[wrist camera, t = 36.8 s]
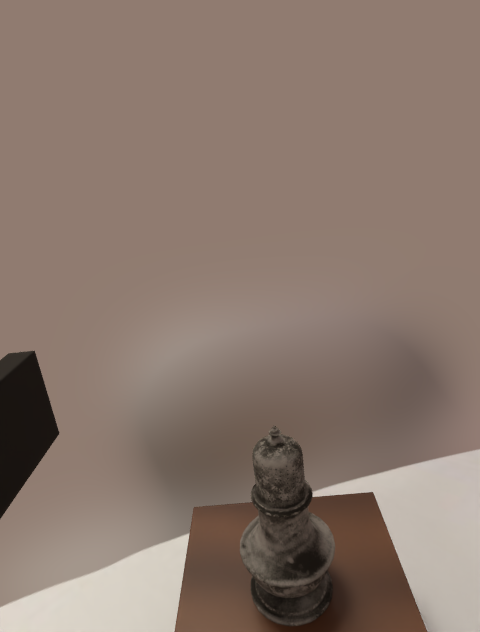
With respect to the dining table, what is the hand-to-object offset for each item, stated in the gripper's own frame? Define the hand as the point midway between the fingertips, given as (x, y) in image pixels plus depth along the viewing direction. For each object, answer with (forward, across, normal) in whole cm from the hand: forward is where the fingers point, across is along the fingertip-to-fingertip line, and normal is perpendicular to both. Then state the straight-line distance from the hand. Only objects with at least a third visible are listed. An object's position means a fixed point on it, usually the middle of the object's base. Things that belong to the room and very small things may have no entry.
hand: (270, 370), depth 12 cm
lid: (+10, 0, -21) cm, 23 cm away
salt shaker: (+10, 0, -21) cm, 23 cm away
